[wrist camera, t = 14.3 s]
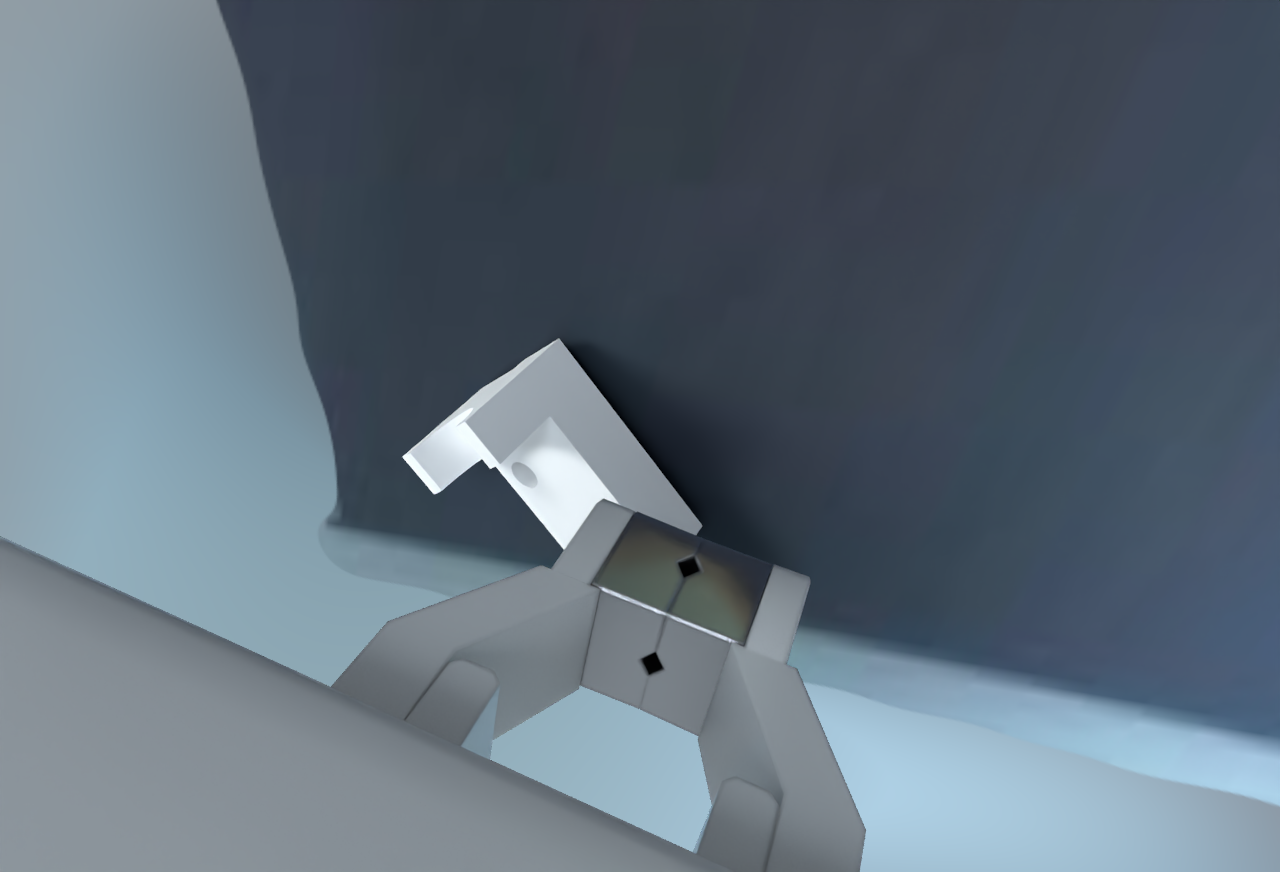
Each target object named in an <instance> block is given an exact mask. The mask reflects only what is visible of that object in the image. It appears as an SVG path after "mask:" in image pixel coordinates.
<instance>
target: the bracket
mask: <svg viewBox="0 0 1280 872" xmlns="http://www.w3.org/2000/svg"><path fill="white" fill-rule="evenodd" d="M403 458H404V459H405V461H406V462H407V463H408V464H409V465H410V467H411V468H412V469H413V470H414V471H415V472H416V474H417V475H418V476H419V477H420V478H421V479H422V481H423V482H424V483H425V484H426V485H427V487H428V488H429V489H430V490H431V491H432V492H433V494H436V493H438V492H441V491H442V490H443V489H445V488H446V487H447V486H448V485H449V484H450V483H451V482H452V481H454V480H455V479H456V478H457V477H458V476H460V475H461V474H462V473H463V472H465V471H466V470H467V469H469V468H470V467H471V466H473V465H474V464H475V463H477V462H478V461H480V460H481V459H482V460H483V461H484V462H485V463H486V464H487V466H488V467H489V468H490V469H491V468H493V467H495V466H496V467H497V469H498V470H499V471H500V472H501V473H502V475H503V476H504V477H505V478H506V480H507V481H508V482H509V483H510V484H511V486H512V487H513V488H514V489H515V490H516V492H517V493H518V494H519V495H520V497H521V498H522V499H523V500H524V501H525V503H526V504H527V505H528V506H529V507H530V509H531V510H532V511H533V512H534V514H535V515H536V516H537V517H538V518H539V520H540V521H541V522H542V523H543V525H544V526H545V527H546V528H547V529H548V531H549V532H550V533H551V534H552V535H553V537H554V538H555V539H556V540H557V542H558V543H559V544H560V545H561V546H562V548H563V549H565V548H566V547H567V545H568V544H569V542H570V541H571V539H572V538H573V536H574V535H575V533H576V532H577V531H578V529H579V528H580V526H581V525H582V523H583V522H584V520H585V519H586V517H587V516H588V515H589V513H590V512H591V510H592V509H593V507H594V506H595V504H596V503H598V502H599V501H600V500H602V499H603V498H604V499H606V500H609V501H611V502H614V503H616V504H619V505H621V506H624V507H626V508H629V509H631V510H633V511H635V512H637V511H638V512H640V513H642V514H645V515H647V516H650V517H652V518H655V519H657V520H660V521H662V522H664V523H667V524H669V525H672V526H674V527H677V528H679V529H682V530H684V531H686V532H689V533H691V534H694V535H696V534H697V533H698V532H699V530H700V529H701V528H702V524H701V523H700V522H699V520H698V519H697V518H696V516H695V515H694V514H693V513H692V511H691V510H690V509H689V507H688V506H687V505H686V503H685V502H684V501H683V499H682V498H681V497H680V496H679V494H678V493H677V492H676V490H675V489H674V488H673V486H672V485H671V484H670V483H669V481H668V480H667V479H666V477H665V476H664V475H663V473H662V472H661V471H660V469H659V468H658V467H657V466H656V464H655V463H654V462H653V460H652V459H651V458H650V456H649V455H648V454H647V453H646V451H645V450H644V449H643V447H642V446H641V445H640V443H639V442H638V441H637V439H636V438H635V437H634V436H633V434H632V433H631V432H630V430H629V429H628V428H627V426H626V425H625V424H624V423H623V421H622V420H621V419H620V417H619V416H618V415H617V413H616V412H615V411H614V409H613V408H612V407H611V406H610V404H609V403H608V402H607V400H606V399H605V398H604V396H603V395H602V394H601V393H600V391H599V390H598V389H597V387H596V386H595V385H594V383H593V382H592V381H591V379H590V378H589V377H588V376H587V374H586V373H585V372H584V370H583V369H582V368H581V366H580V365H579V364H578V362H577V361H576V360H575V359H574V357H573V356H572V355H571V353H570V352H569V351H568V349H567V348H566V347H565V346H564V344H563V343H562V342H561V340H560V339H557V340H556V341H554V342H552V343H551V344H549V345H547V346H546V347H544V348H543V349H541V350H539V351H538V352H536V353H534V354H533V355H531V356H529V357H528V358H526V359H525V360H523V361H522V362H521V363H520V364H519V365H517V366H516V367H515V368H514V369H513V370H511V371H509V372H508V373H506V374H504V375H503V376H501V377H500V378H498V379H496V380H495V381H493V382H491V383H490V384H488V385H486V386H485V387H483V388H482V389H480V390H479V391H478V392H477V393H476V394H475V395H474V396H472V397H471V398H470V399H469V400H468V401H467V402H465V403H464V404H463V405H462V406H461V407H460V408H458V409H457V410H456V411H455V412H454V413H453V414H452V415H450V416H449V417H448V418H447V419H446V420H445V421H443V422H442V423H441V424H440V425H439V426H438V427H436V428H435V429H434V430H433V431H432V432H431V433H430V434H428V435H427V436H426V437H425V438H424V439H423V440H421V441H420V442H419V443H418V444H417V445H416V446H414V447H413V448H412V449H411V450H410V451H409V452H407V453H406V454H405V455H404V456H403Z"/></svg>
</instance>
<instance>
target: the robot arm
mask: <svg viewBox="0 0 1280 872" xmlns="http://www.w3.org/2000/svg"><path fill="white" fill-rule="evenodd" d="M772 565H773V564H770V563H767V562H765V561H762V560H759V559H757V558H754V557H751V556H749V555H746V554H743V553H741V552H738V551H735V550H733V549H730V548H727V547H725V546H722V545H719V544H717V543H714V542H711V541H709V540H706V539H704V538H701V537H699V536H696V535H694V534H691V533H689V532H686V531H684V530H682V529H679V528H677V527H674V526H672V525H669V524H667V523H664V522H662V521H660V520H657V519H655V518H652V517H650V516H647V515H645V514H642V513H640V512H638V511H637V512H635V511H633V510H631V509H629V508H626V507H624V506H621V505H619V504H616V503H614V502H611V501H609V500H606V499H604V498H603V499H602V500H600V501H599V502H598V503H596V504H595V506H594V507H593V509H592V510H591V512H590V513H589V515H588V516H587V517H586V519H585V520H584V522H583V523H582V525H581V526H580V528H579V529H578V531H577V532H576V533H575V535H574V536H573V538H572V539H571V541H570V542H569V544H568V545H567V547H566V548H565V549H564V551H563V552H562V554H561V555H560V557H559V558H558V560H557V561H556V563H555V564H554V565H553V567H552V568H551V569H549V568H547V567H544V566H538V567H536V568H533V569H530V570H527V571H525V572H522V573H519V574H516V575H514V576H511V577H508V578H505V579H503V580H500V581H497V582H494V583H492V584H489V585H486V586H483V587H481V588H478V589H475V590H472V591H470V592H467V593H464V594H461V595H459V596H456V597H453V598H450V599H448V600H445V601H442V602H439V603H437V604H434V605H431V606H428V607H426V608H423V609H421V610H418V611H415V612H412V613H409V614H407V615H404V616H401V617H399V618H395V619H393V620H390V621H388V622H387V623H386V624H385V625H384V626H383V627H382V629H381V630H380V631H379V632H378V633H377V634H376V635H375V637H374V638H373V639H372V640H371V641H370V642H369V644H368V645H367V646H366V647H365V648H364V649H363V650H362V652H361V653H360V654H359V655H358V656H357V657H356V659H355V660H354V661H353V662H352V663H351V664H350V666H349V667H348V668H347V669H346V670H345V671H344V672H343V673H342V675H341V676H340V677H339V678H338V679H337V680H336V682H335V683H334V684H333V685H332V686H331V687H329V686H327V685H325V684H323V683H321V682H319V681H316V680H314V679H312V678H310V677H308V676H305V675H303V674H301V673H299V672H297V671H295V670H292V669H290V668H288V667H286V666H283V665H281V664H279V663H277V662H275V661H273V660H270V659H268V658H266V657H264V656H261V655H259V654H257V653H255V652H253V651H251V650H248V649H246V648H244V647H242V646H240V645H237V644H235V643H233V642H231V641H229V640H227V639H224V638H222V637H220V636H218V635H216V634H213V633H211V632H209V631H207V630H205V629H202V628H200V627H198V626H196V625H193V624H192V623H189V622H187V621H185V620H183V619H181V618H178V617H176V616H174V615H172V614H170V613H167V612H165V611H163V610H161V609H159V608H156V607H154V606H152V605H150V604H147V603H146V602H143V601H141V600H139V599H137V598H134V597H132V596H130V595H128V594H126V593H123V592H121V591H119V590H117V589H115V588H112V587H110V586H108V585H106V584H104V583H102V582H99V581H97V580H95V579H93V578H91V577H89V576H86V575H84V574H82V573H80V572H77V571H75V570H73V569H71V568H69V567H66V566H64V565H62V564H60V563H58V562H56V561H53V560H51V559H49V558H47V557H45V556H42V555H40V554H38V553H36V552H34V551H31V550H29V549H27V548H25V547H23V546H21V545H18V544H16V543H14V542H12V541H9V540H7V539H5V538H3V537H1V536H0V872H860V865H861V859H862V853H863V846H864V840H865V833H866V829H865V827H864V824H863V822H862V820H861V818H860V815H859V813H858V810H857V808H856V806H855V803H854V801H853V799H852V796H851V794H850V791H849V789H848V787H847V784H846V782H845V780H844V777H843V775H842V773H841V771H840V768H839V766H838V763H837V761H836V759H835V756H834V754H833V752H832V749H831V747H830V745H829V742H828V740H827V737H826V735H825V733H824V731H823V728H822V726H821V723H820V721H819V719H818V716H817V714H816V712H815V709H814V707H813V705H812V702H811V700H810V698H809V696H808V693H807V691H806V688H805V686H804V684H803V681H802V679H801V676H800V674H799V672H798V669H796V668H794V667H791V666H789V665H787V661H788V658H789V655H790V651H791V648H792V644H793V641H794V638H795V634H796V631H797V627H798V624H799V620H800V617H801V614H802V610H803V607H804V603H805V600H806V596H807V593H808V590H809V586H810V583H811V582H810V577H808V576H805V575H803V574H800V573H797V572H794V571H791V570H789V569H786V568H783V567H780V566H778V565H775V564H774V566H773V568H772ZM771 568H772V570H771ZM580 685H581V686H583V687H585V688H588V689H590V690H593V691H595V692H598V693H601V694H603V695H606V696H608V697H611V698H613V699H616V700H618V701H621V702H623V703H626V704H628V705H631V706H634V707H636V708H638V709H641V710H643V711H645V712H647V713H649V714H651V715H654V716H656V717H658V718H660V719H662V720H664V721H667V722H669V723H671V724H673V725H675V726H677V727H680V728H682V729H684V730H686V731H689V732H691V733H693V734H695V735H697V736H699V737H698V742H699V747H700V752H701V757H702V761H703V765H704V771H705V775H706V780H707V784H708V789H709V793H710V799H711V803H712V806H711V809H710V811H709V814H708V816H707V819H706V821H705V824H704V826H703V829H702V831H701V834H700V836H699V839H698V841H697V843H696V846H695V848H694V851H693V852H691V851H689V850H686V849H684V848H682V847H680V846H677V845H676V844H673V843H671V842H669V841H666V840H664V839H662V838H660V837H658V836H656V835H654V834H651V833H649V832H647V831H645V830H643V829H640V828H638V827H636V826H634V825H632V824H630V823H627V822H625V821H623V820H621V819H618V818H616V817H614V816H612V815H610V814H608V813H605V812H603V811H601V810H599V809H597V808H595V807H592V806H590V805H588V804H586V803H583V802H581V801H579V800H577V799H575V798H572V797H570V796H568V795H566V794H564V793H562V792H559V791H557V790H555V789H553V788H551V787H549V786H546V785H544V784H542V783H540V782H538V781H535V780H533V779H531V778H529V777H526V776H524V775H522V774H520V773H518V772H516V771H514V770H511V769H509V768H507V767H505V766H502V765H500V764H498V763H496V762H494V761H492V760H490V755H491V747H492V740H494V739H495V738H497V737H499V736H501V735H502V734H504V733H506V732H507V731H509V730H511V729H512V728H514V727H516V726H517V725H519V724H521V723H523V722H524V721H526V720H528V719H529V718H531V717H532V716H534V715H536V714H538V713H539V712H541V711H543V710H544V709H546V708H548V707H549V706H551V705H553V704H554V703H556V702H558V701H559V700H561V699H563V698H564V697H566V696H568V695H570V694H571V693H573V692H575V691H576V690H578V689H579V686H580Z"/></svg>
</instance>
